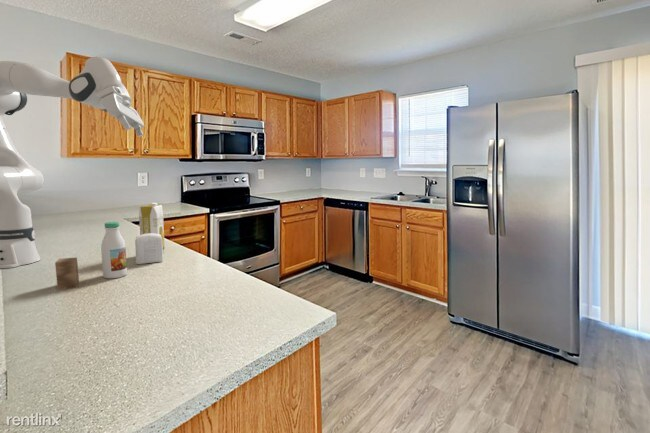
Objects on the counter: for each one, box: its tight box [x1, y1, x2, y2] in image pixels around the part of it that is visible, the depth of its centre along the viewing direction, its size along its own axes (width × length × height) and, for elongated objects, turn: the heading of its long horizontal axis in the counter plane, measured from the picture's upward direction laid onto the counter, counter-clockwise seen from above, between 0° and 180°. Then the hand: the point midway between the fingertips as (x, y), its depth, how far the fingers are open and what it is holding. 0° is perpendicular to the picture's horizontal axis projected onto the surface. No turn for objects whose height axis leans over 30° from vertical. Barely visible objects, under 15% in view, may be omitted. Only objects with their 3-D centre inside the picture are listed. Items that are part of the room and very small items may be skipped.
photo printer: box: [134, 233, 164, 265], centre depth 147 cm, size 10×4×12 cm, turn 123°
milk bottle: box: [100, 221, 128, 279], centre depth 128 cm, size 8×8×20 cm
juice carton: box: [138, 202, 165, 255], centre depth 156 cm, size 9×8×24 cm
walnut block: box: [54, 257, 80, 290], centre depth 118 cm, size 5×5×9 cm
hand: (134, 132), depth 129 cm, fingers open, 8 cm apart
